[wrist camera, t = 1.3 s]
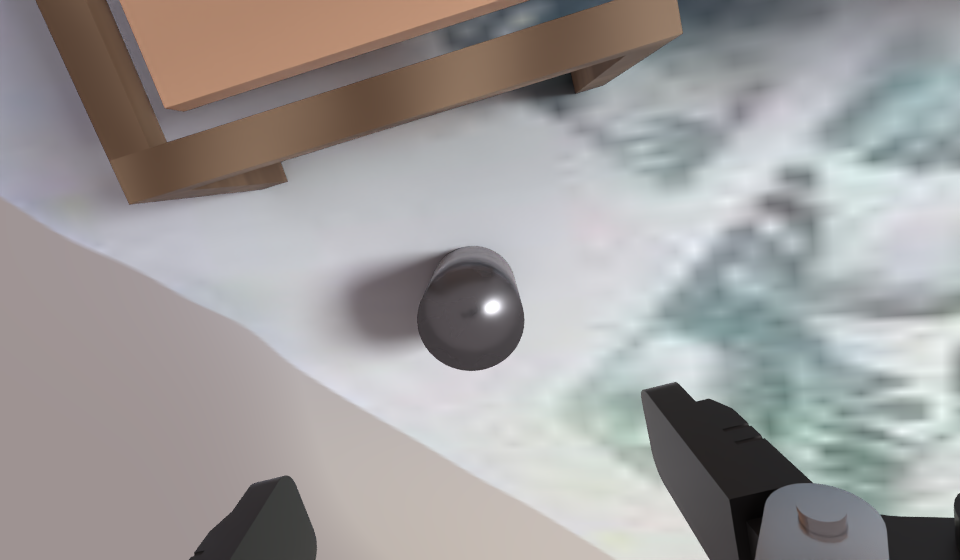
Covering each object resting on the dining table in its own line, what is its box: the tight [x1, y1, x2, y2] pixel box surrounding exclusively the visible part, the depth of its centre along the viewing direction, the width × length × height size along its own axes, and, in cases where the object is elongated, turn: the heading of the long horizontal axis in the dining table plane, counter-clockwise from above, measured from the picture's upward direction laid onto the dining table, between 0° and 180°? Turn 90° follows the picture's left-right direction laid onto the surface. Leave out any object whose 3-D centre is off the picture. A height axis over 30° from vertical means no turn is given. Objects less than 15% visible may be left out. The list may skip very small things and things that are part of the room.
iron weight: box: [417, 246, 524, 371], centre depth 24 cm, size 5×5×6 cm
